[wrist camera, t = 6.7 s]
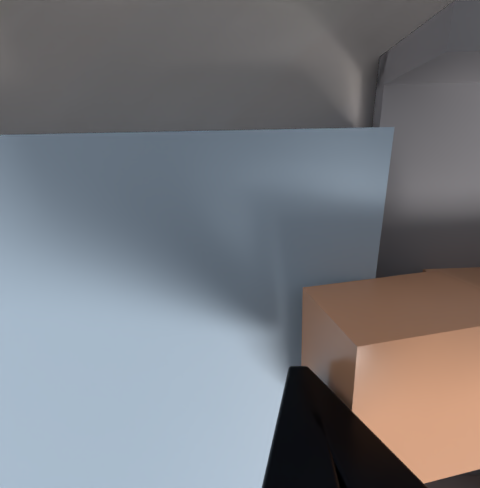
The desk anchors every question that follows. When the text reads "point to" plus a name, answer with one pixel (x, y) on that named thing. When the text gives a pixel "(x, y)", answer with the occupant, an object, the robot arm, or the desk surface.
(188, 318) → the board
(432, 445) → the tile
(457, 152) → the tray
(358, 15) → the desk surface
